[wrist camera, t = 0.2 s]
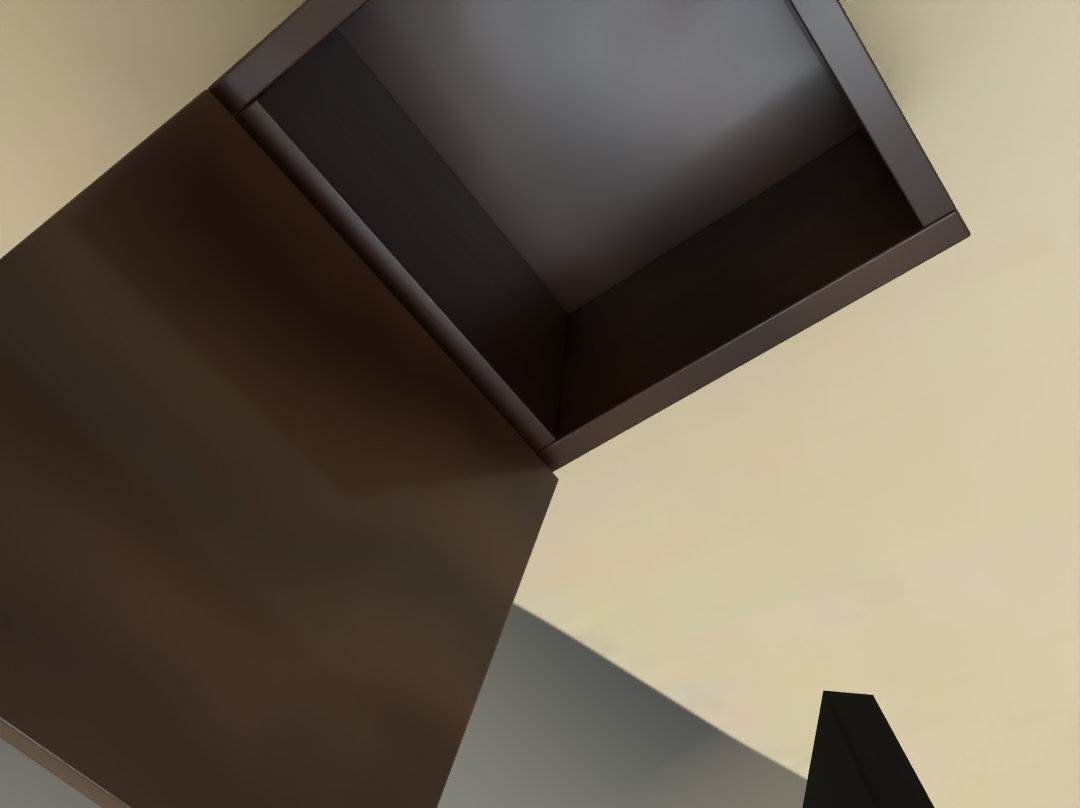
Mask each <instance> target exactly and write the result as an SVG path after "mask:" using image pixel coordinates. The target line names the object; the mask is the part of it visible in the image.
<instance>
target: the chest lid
mask: <svg viewBox="0 0 1080 808" xmlns="http://www.w3.org/2000/svg"><path fill="white" fill-rule="evenodd" d="M557 482H558V478H557V477H556V476H555V475H554V474H553V472H552V471H551V470H550V469H549V468H548V467H547V466H546V465H545V464H544V462H543V461H542V460H541V459H540V458H539V457H538V456H537V455H536V454H535V452H534V451H533V450H532V449H531V448H530V447H529V446H528V445H527V444H526V442H525V441H524V440H523V439H522V438H521V437H520V436H519V435H518V434H517V432H516V431H515V430H514V429H513V428H512V427H511V426H510V425H509V424H508V422H507V421H506V420H505V419H504V418H503V417H502V416H501V415H500V414H499V412H498V411H497V410H496V409H495V408H494V407H493V406H492V405H491V404H490V402H489V401H488V400H487V399H486V398H485V397H484V396H483V395H482V394H481V392H480V391H479V390H478V389H477V388H476V387H475V386H474V385H473V384H472V382H471V381H470V380H469V379H468V378H467V377H466V376H465V375H464V373H463V372H462V371H461V370H460V369H459V368H458V367H457V366H456V365H455V363H454V362H453V361H452V360H451V359H450V358H449V357H448V356H447V355H446V353H445V352H444V351H443V350H442V349H441V348H440V347H439V346H438V345H437V343H436V342H435V341H434V340H433V339H432V338H431V337H430V336H429V335H428V333H427V332H426V331H425V330H424V329H423V328H422V327H421V326H420V325H419V323H418V322H417V321H416V320H415V319H414V318H413V317H412V316H411V315H410V313H409V312H408V311H407V310H406V309H405V308H404V307H403V306H402V305H401V303H400V302H399V301H398V300H397V299H396V298H395V297H394V296H393V295H392V293H391V292H390V291H389V290H388V289H387V288H386V287H385V286H384V285H383V283H382V282H381V281H380V280H379V279H378V278H377V277H376V276H375V274H374V273H373V272H372V271H371V270H370V269H369V268H368V267H367V266H366V264H365V263H364V262H363V261H362V260H361V259H360V258H359V257H358V256H357V254H356V253H355V252H354V251H353V250H352V249H351V248H350V247H349V246H348V244H347V243H346V242H345V241H344V240H343V239H342V238H341V237H340V236H339V234H338V233H337V232H336V231H335V230H334V229H333V228H332V227H331V226H330V224H329V223H328V222H327V221H326V220H325V219H324V218H323V217H322V216H321V214H320V213H319V212H318V211H317V210H316V209H315V208H314V207H313V206H312V204H311V203H310V202H309V201H308V200H307V199H306V198H305V197H304V196H303V194H302V193H301V192H300V191H299V190H298V189H297V188H296V187H295V186H294V184H293V183H292V182H291V181H290V180H289V179H288V178H287V177H286V175H285V174H284V173H283V172H282V171H281V170H280V169H279V168H278V167H277V165H276V164H275V163H274V162H273V161H272V160H271V159H270V158H269V157H268V155H267V154H266V153H265V152H264V151H263V150H262V149H261V148H260V147H259V145H258V144H257V143H256V142H255V141H254V140H253V139H252V138H251V137H250V135H249V134H248V133H247V132H246V131H245V130H244V129H243V128H242V127H241V125H240V124H239V123H238V122H237V121H236V120H235V119H234V118H233V117H232V115H231V114H230V113H229V112H228V111H227V110H226V109H225V108H224V107H223V105H222V104H221V103H220V102H219V101H218V100H217V99H216V98H215V97H214V95H213V94H212V93H211V92H210V91H209V90H208V89H206V90H204V91H203V92H202V93H200V94H199V95H198V96H197V97H196V98H194V99H193V100H192V101H191V102H190V103H188V104H187V105H186V106H185V107H183V108H182V109H181V110H180V111H179V112H177V113H176V114H175V115H174V116H173V117H171V118H170V119H169V120H168V121H167V122H165V123H164V124H163V125H162V126H161V127H159V128H158V129H157V130H156V131H154V132H153V133H152V134H151V135H150V136H148V137H147V138H146V139H145V140H144V141H142V142H141V143H140V144H139V145H138V146H136V147H135V148H134V149H133V150H131V151H130V152H129V153H128V154H127V155H125V156H124V157H123V158H122V159H121V160H119V161H118V162H117V163H116V164H115V165H113V166H112V167H111V168H110V169H108V170H107V171H106V172H105V173H104V174H102V175H101V176H100V177H99V178H98V179H96V180H95V181H94V182H93V183H92V184H90V185H89V186H88V187H87V188H86V189H84V190H83V191H82V192H81V193H79V194H78V195H77V196H76V197H75V198H73V199H72V200H71V201H70V202H69V203H67V204H66V205H65V206H64V207H63V208H61V209H60V210H59V211H58V212H56V213H55V214H54V215H53V216H52V217H50V218H49V219H48V220H47V221H46V222H44V223H43V224H42V225H41V226H40V227H38V228H37V229H36V230H35V231H33V232H32V233H31V234H30V235H29V236H27V237H26V238H25V239H24V240H23V241H21V242H20V243H19V244H18V245H17V246H15V247H14V248H13V249H12V250H10V251H9V252H8V253H7V254H6V255H4V256H3V257H2V258H1V259H0V738H2V739H3V740H5V741H6V742H7V743H9V744H10V745H12V746H13V747H15V748H16V749H18V750H19V751H21V752H22V753H23V754H25V755H26V756H28V757H29V758H31V759H32V760H34V761H35V762H37V763H38V764H40V765H41V766H42V767H44V768H45V769H47V770H48V771H50V772H51V773H53V774H54V775H56V776H57V777H59V778H60V779H61V780H63V781H64V782H66V783H67V784H69V785H70V786H72V787H73V788H75V789H76V790H78V791H79V792H81V793H82V794H84V795H85V796H86V797H88V798H89V799H91V800H93V801H94V802H95V803H97V804H98V805H99V806H101V807H103V808H437V806H438V803H439V801H440V798H441V795H442V792H443V790H444V787H445V784H446V782H447V779H448V776H449V774H450V771H451V768H452V766H453V763H454V760H455V757H456V755H457V752H458V749H459V746H460V744H461V741H462V738H463V736H464V733H465V731H466V728H467V725H468V722H469V720H470V717H471V714H472V712H473V709H474V706H475V703H476V701H477V698H478V695H479V693H480V690H481V687H482V685H483V682H484V679H485V677H486V674H487V671H488V669H489V666H490V663H491V660H492V658H493V655H494V652H495V649H496V647H497V644H498V641H499V639H500V636H501V633H502V631H503V628H504V625H505V623H506V620H507V617H508V615H509V612H510V609H511V606H512V604H513V601H514V598H515V596H516V593H517V590H518V588H519V585H520V582H521V580H522V577H523V574H524V571H525V569H526V566H527V563H528V561H529V558H530V555H531V553H532V550H533V547H534V544H535V542H536V539H537V536H538V534H539V531H540V528H541V526H542V523H543V520H544V518H545V515H546V512H547V509H548V507H549V504H550V501H551V499H552V496H553V493H554V491H555V488H556V485H557Z"/></svg>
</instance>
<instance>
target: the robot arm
mask: <svg viewBox="0 0 1080 808" xmlns="http://www.w3.org/2000/svg"><path fill="white" fill-rule="evenodd" d="M803 808H934V806H933V804H932V802H931V801H930V799H929V797H928V795H927V793H926V791H925V790H924V788H923V786H922V784H921V782H920V780H919V779H918V777H917V775H916V773H915V771H914V769H913V768H912V766H911V764H910V762H909V760H908V758H907V757H906V755H905V753H904V751H903V749H902V747H901V746H900V744H899V742H898V740H897V738H896V736H895V735H894V733H893V731H892V729H891V727H890V725H889V724H888V722H887V720H886V718H885V716H884V714H883V713H882V711H881V709H880V707H879V705H878V703H877V702H876V700H875V698H874V696H873V695H867V694H856V693H845V692H833V691H823V696H822V702H821V707H820V713H819V719H818V724H817V730H816V735H815V741H814V747H813V752H812V758H811V763H810V769H809V774H808V780H807V786H806V792H805V797H804V803H803Z"/></svg>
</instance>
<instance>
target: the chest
mask: <svg viewBox="0 0 1080 808" xmlns="http://www.w3.org/2000/svg"><path fill="white" fill-rule="evenodd" d="M208 90H209V91H210V92H211V93H212V94H213V95H214V97H215V98H216V99H217V100H218V101H219V102H220V103H221V104H222V105H223V107H224V108H225V109H226V110H227V111H228V112H229V113H230V114H231V115H232V117H234V119H235V120H236V121H237V122H238V123H239V124H240V125H241V127H242V128H243V129H244V130H245V131H246V132H247V133H248V134H249V135H250V137H251V138H252V139H253V140H254V141H255V142H256V143H257V144H258V145H259V147H260V148H261V149H262V150H263V151H264V152H265V153H266V154H267V155H268V157H269V158H270V159H271V160H272V161H273V162H274V163H275V164H276V165H277V167H278V168H279V169H280V170H281V171H282V172H283V173H284V174H285V175H286V177H287V178H288V179H289V180H290V181H291V182H292V183H293V184H294V186H295V187H296V188H297V189H298V190H299V191H300V192H301V193H302V194H303V196H304V197H305V198H306V199H307V200H308V201H309V202H310V203H311V204H312V206H313V207H314V208H315V209H316V210H317V211H318V212H319V213H320V214H321V216H322V217H323V218H324V219H325V220H326V221H327V222H328V223H329V224H330V226H331V227H332V228H333V229H334V230H335V231H336V232H337V233H338V234H339V236H340V237H341V238H342V239H343V240H344V241H345V242H346V243H347V244H348V246H349V247H350V248H351V249H352V250H353V251H354V252H355V253H356V254H357V256H358V257H359V258H360V259H361V260H362V261H363V262H364V263H365V264H366V266H367V267H368V268H369V269H370V270H371V271H372V272H373V273H374V274H375V276H376V277H377V278H378V279H379V280H380V281H381V282H382V283H383V285H384V286H385V287H386V288H387V289H388V290H389V291H390V292H391V293H392V295H393V296H394V297H395V298H396V299H397V300H398V301H399V302H400V303H401V305H402V306H403V307H404V308H405V309H406V310H407V311H408V312H409V313H410V315H411V316H412V317H413V318H414V319H415V320H416V321H417V322H418V323H419V325H420V326H421V327H422V328H423V329H424V330H425V331H426V332H427V333H428V335H429V336H430V337H431V338H432V339H433V340H434V341H435V342H436V343H437V345H438V346H439V347H440V348H441V349H442V350H443V351H444V352H445V353H446V355H447V356H448V357H449V358H450V359H451V360H452V361H453V362H454V363H455V365H456V366H457V367H458V368H459V369H460V370H461V371H462V372H463V373H464V375H465V376H466V377H467V378H468V379H469V380H470V381H471V382H472V384H473V385H474V386H475V387H476V388H477V389H478V390H479V391H480V392H481V394H482V395H483V396H484V397H485V398H486V399H487V400H488V401H489V402H490V404H491V405H492V406H493V407H494V408H495V409H496V410H497V411H498V412H499V414H500V415H501V416H502V417H503V418H504V419H505V420H506V421H507V422H508V424H509V425H510V426H511V427H512V428H513V429H514V430H515V431H516V432H517V434H518V435H519V436H520V437H521V438H522V439H523V440H524V441H525V442H526V444H527V445H528V446H529V447H530V448H531V449H532V450H533V451H534V452H535V454H536V455H537V456H538V457H539V458H540V459H541V460H542V461H543V462H544V464H545V465H546V466H547V467H548V468H549V469H550V470H551V471H552V472H554V471H555V470H557V469H559V468H561V467H562V466H564V465H566V464H568V463H570V462H571V461H573V460H575V459H577V458H578V457H580V456H582V455H584V454H585V453H587V452H589V451H591V450H593V449H594V448H596V447H598V446H600V445H601V444H603V443H605V442H607V441H608V440H610V439H612V438H614V437H616V436H617V435H619V434H621V433H623V432H624V431H626V430H628V429H630V428H631V427H633V426H635V425H637V424H639V423H640V422H642V421H644V420H646V419H647V418H649V417H651V416H653V415H654V414H656V413H658V412H660V411H662V410H663V409H665V408H667V407H669V406H670V405H672V404H674V403H676V402H677V401H679V400H681V399H683V398H685V397H686V396H688V395H690V394H692V393H693V392H695V391H697V390H699V389H700V388H702V387H704V386H706V385H708V384H709V383H711V382H713V381H715V380H716V379H718V378H720V377H722V376H723V375H725V374H727V373H729V372H731V371H732V370H734V369H736V368H738V367H739V366H741V365H743V364H745V363H746V362H748V361H750V360H752V359H754V358H755V357H757V356H759V355H761V354H762V353H764V352H766V351H768V350H769V349H771V348H773V347H775V346H777V345H778V344H780V343H782V342H784V341H785V340H787V339H789V338H791V337H792V336H794V335H796V334H798V333H800V332H801V331H803V330H805V329H807V328H808V327H810V326H812V325H814V324H815V323H817V322H819V321H821V320H823V319H824V318H826V317H828V316H830V315H831V314H833V313H835V312H837V311H838V310H840V309H842V308H844V307H846V306H847V305H849V304H851V303H853V302H854V301H856V300H858V299H860V298H861V297H863V296H865V295H867V294H869V293H870V292H872V291H874V290H876V289H877V288H879V287H881V286H883V285H884V284H886V283H888V282H890V281H892V280H893V279H895V278H897V277H899V276H900V275H902V274H904V273H906V272H907V271H909V270H911V269H913V268H915V267H916V266H918V265H920V264H922V263H923V262H925V261H927V260H929V259H930V258H932V257H934V256H936V255H938V254H939V253H941V252H943V251H945V250H946V249H948V248H950V247H952V246H953V245H955V244H957V243H959V242H961V241H962V240H964V239H966V238H968V237H969V236H970V231H969V230H968V228H967V226H966V224H965V222H964V221H963V219H962V217H961V215H960V214H959V212H958V210H957V209H956V207H955V205H954V203H953V201H952V199H951V198H950V196H949V194H948V192H947V191H946V189H945V187H944V185H943V184H942V182H941V180H940V178H939V177H938V175H937V173H936V171H935V169H934V168H933V166H932V164H931V162H930V161H929V159H928V157H927V155H926V154H925V152H924V150H923V148H922V147H921V145H920V143H919V141H918V140H917V138H916V136H915V134H914V132H913V131H912V129H911V127H910V125H909V124H908V122H907V120H906V118H905V117H904V115H903V113H902V111H901V110H900V108H899V106H898V104H897V103H896V101H895V99H894V97H893V95H892V94H891V92H890V90H889V88H888V87H887V85H886V83H885V81H884V80H883V78H882V76H881V74H880V73H879V71H878V69H877V67H876V66H875V64H874V62H873V60H872V58H871V57H870V55H869V53H868V51H867V50H866V48H865V46H864V44H863V43H862V41H861V39H860V37H859V36H858V34H857V32H856V30H855V29H854V27H853V25H852V23H851V21H850V20H849V18H848V16H847V14H846V13H845V11H844V9H843V7H842V6H841V4H840V2H839V0H306V1H305V2H304V3H303V4H302V5H301V6H300V7H299V8H297V9H296V10H295V11H294V12H293V13H292V14H291V15H290V16H288V17H287V18H286V19H285V20H284V21H283V22H282V23H281V24H279V25H278V26H277V27H276V28H275V29H274V30H273V31H272V32H270V33H269V34H268V35H267V36H266V37H265V38H264V39H263V40H261V41H260V42H259V43H258V44H257V45H256V46H255V47H254V48H252V49H251V50H250V51H249V52H248V53H247V54H246V55H245V56H243V57H242V58H241V59H240V60H239V61H238V62H237V63H235V64H234V65H233V66H232V67H231V68H230V69H229V70H228V71H226V72H225V73H224V74H223V75H222V76H221V77H220V78H219V79H217V80H216V81H215V82H214V83H213V84H212V85H211V86H210V87H209V88H208Z"/></svg>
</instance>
